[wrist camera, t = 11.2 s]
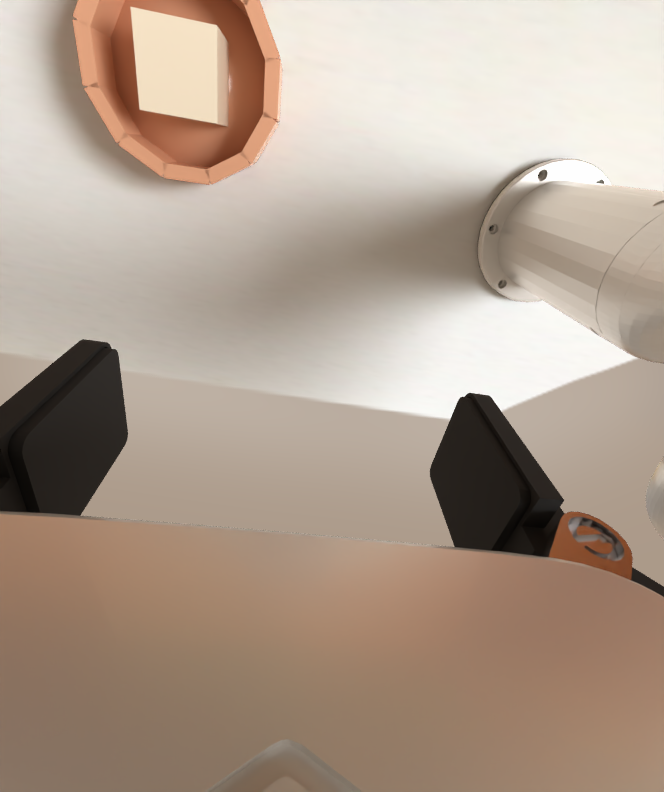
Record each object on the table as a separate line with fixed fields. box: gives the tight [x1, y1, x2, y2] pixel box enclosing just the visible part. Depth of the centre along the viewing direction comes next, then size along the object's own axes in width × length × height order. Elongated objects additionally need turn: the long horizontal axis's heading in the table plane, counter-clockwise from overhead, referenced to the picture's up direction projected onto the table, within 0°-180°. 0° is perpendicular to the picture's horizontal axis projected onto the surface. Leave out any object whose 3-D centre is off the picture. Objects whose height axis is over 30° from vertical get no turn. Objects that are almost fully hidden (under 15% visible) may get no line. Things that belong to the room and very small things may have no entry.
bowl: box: [72, 0, 282, 185], centre depth 28 cm, size 13×13×4 cm
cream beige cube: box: [131, 7, 229, 127], centre depth 27 cm, size 5×5×5 cm
